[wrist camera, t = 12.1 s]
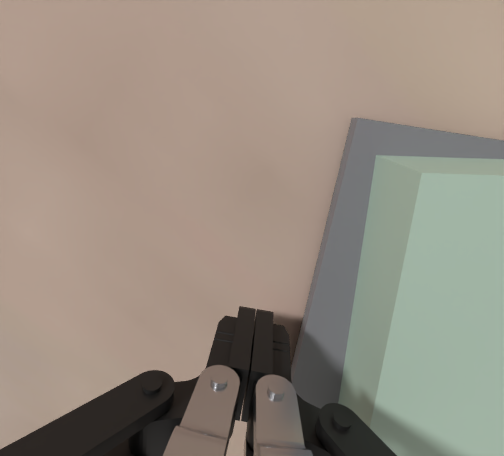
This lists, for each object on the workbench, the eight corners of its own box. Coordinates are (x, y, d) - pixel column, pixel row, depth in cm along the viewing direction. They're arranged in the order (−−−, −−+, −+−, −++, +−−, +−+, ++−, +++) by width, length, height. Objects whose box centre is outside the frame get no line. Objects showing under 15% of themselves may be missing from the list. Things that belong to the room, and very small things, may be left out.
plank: (375, 155, 12) (421, 172, 8) (514, 159, 12) (627, 180, 8) (330, 451, 17) (345, 544, 14) (424, 459, 17) (466, 557, 13)
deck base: (351, 117, 12) (357, 117, 12) (736, 177, 12) (774, 183, 11) (274, 436, 19) (274, 453, 18) (528, 481, 18) (542, 501, 17)
